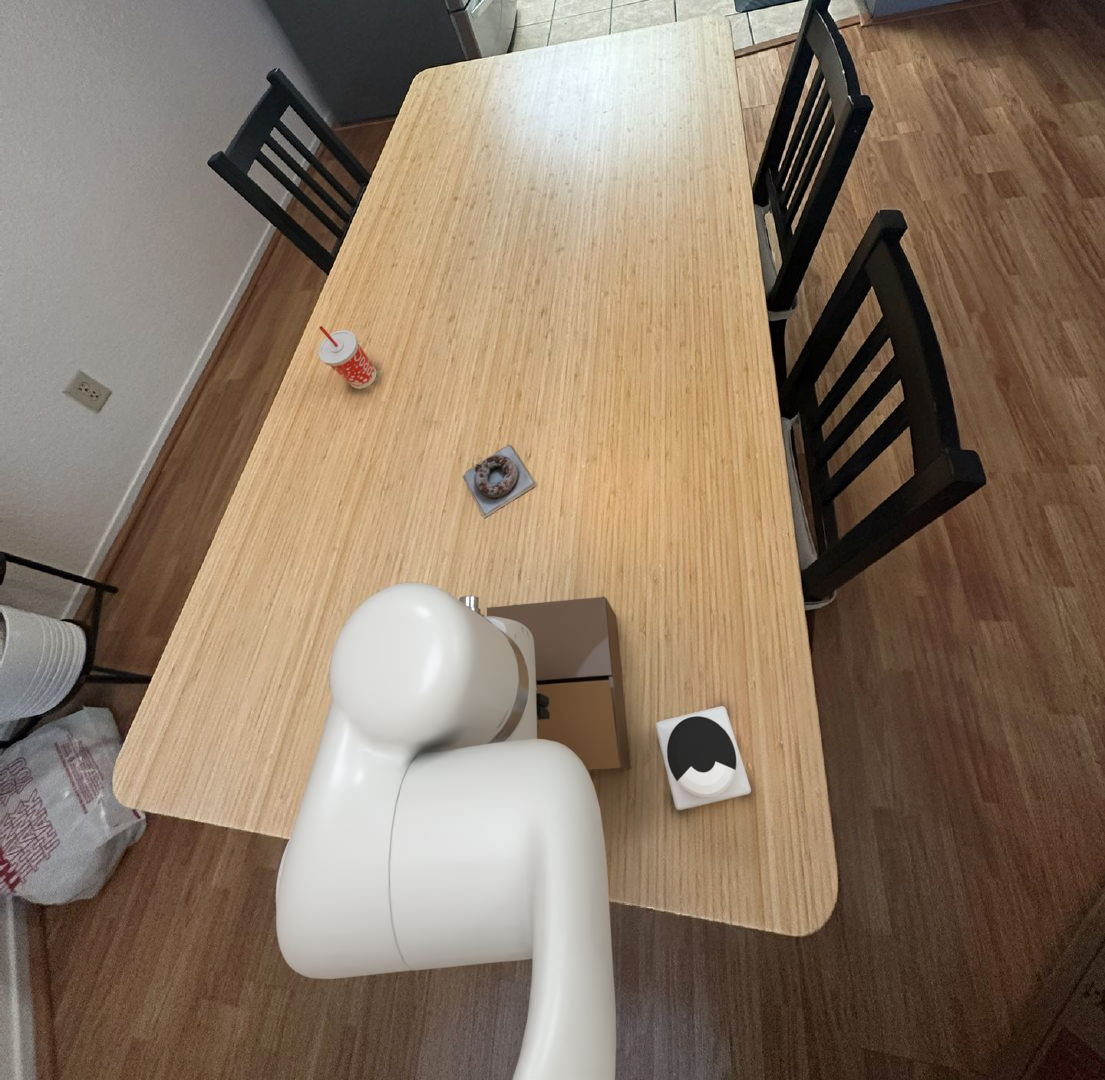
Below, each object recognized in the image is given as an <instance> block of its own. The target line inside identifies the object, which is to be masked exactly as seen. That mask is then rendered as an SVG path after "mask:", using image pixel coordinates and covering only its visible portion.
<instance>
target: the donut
mask: <svg viewBox="0 0 1105 1080" xmlns="http://www.w3.org/2000/svg"><path fill="white" fill-rule="evenodd" d="M461 477H462V478H463V480H464V482H465V484H466V486H467V489H468V491H469V492H470V494H471V496H472V498H473V500H474V502H475V504H476V505H477V508H478V510H479V511H480V513H481V516H482V518H483V519H486V518H488V517H489V516H491V515H492V514H494V513H495V512H497V511H498V510H499V509H501V508H504V507H505V506H508V504H509V503H511V502H513V501H515V500H516V499H518V498H519V497H521V496H523V495H524V494H525V493H527V492H528V491H530V490H532V489H534V487H537V486H538V484H537V482H536V481H535V479H534V477H533V476H532V475H531V473H530V471H529V470H528V468H527V467H526V465H525V464H524V462H523V460H522V458H521V457H520V456H519V454H518V453H517V451H516V450H515V448H514V447H513V446H512V445H511V444H507V445H506V446H504V447H502V448H500V450H497V451H496V452H494V453H493V454H492V455H490V456H488V457H487V458H485V459H483V460H481V461H479V462H478V463H476V464H475V465H473V466H472V467H470V468H468V469H467V470H466V471H465V473H464V474H463V475H462V476H461Z"/></svg>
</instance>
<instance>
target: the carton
mask: <svg viewBox="0 0 1105 1080" xmlns="http://www.w3.org/2000/svg"><path fill="white" fill-rule="evenodd" d="M486 616H494V617H501V618H506V619H511V620H514V621H517V622H519V623H521V624H523V625H524V626H526V627H527V628H528V629H529V631H530V632H531V634H532V635H533V639H534V648H535V672H536V682H537V685H544V684H558V683H572V682H585V681H599V680H610V688H611V696H612V704H613V712H614V720H615V728H616V737H617V745H618V753H619V761H620V768H611V769H610V770H623V769H624V770H625V769H631V767H632V766H631V757H630V746H629V745H630V744H629V735H628V725H627V714H626V702H625V694H624V683H623V673H622V662H621V661H622V660H621V652H620V651H621V650H620V641H619V630H618V619H617V615H616V613H615V611H614V609H613V607H612V605H611V604H610V602H609V600H608V598H607V597H606V596H599V597H589V598H577V599H576V598H575V599H566V600H555V601H544V602H534V603H533V602H531V603H521V604H512V605H500V606H491V607H486ZM604 770H609V769H592V770H591V771H604ZM587 771H588V772H590V770H587Z"/></svg>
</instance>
